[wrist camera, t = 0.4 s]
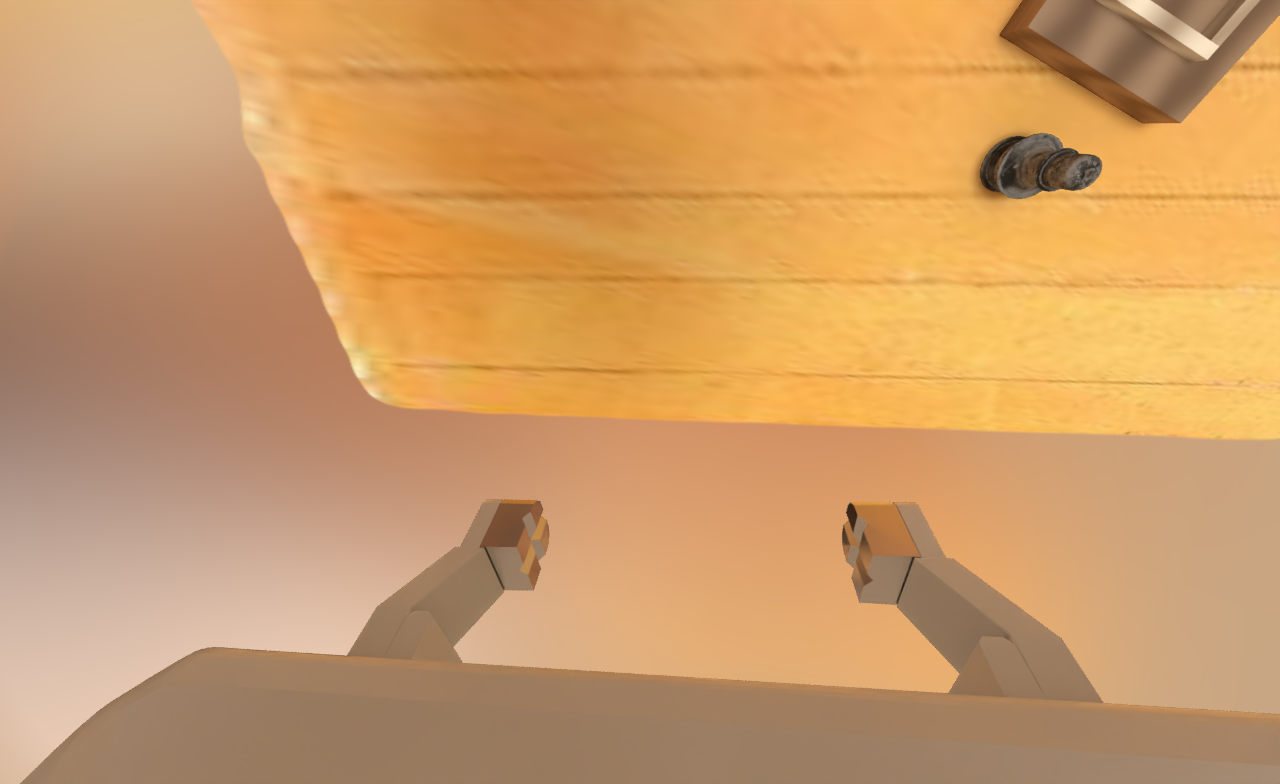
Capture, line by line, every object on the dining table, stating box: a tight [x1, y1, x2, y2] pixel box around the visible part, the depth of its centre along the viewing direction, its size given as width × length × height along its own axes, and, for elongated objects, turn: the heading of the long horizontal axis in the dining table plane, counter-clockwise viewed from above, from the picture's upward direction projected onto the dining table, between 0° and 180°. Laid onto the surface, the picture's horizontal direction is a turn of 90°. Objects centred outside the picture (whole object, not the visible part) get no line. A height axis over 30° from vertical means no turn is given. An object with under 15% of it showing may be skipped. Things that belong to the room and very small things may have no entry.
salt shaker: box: [980, 133, 1102, 199], centre depth 43 cm, size 6×6×12 cm
